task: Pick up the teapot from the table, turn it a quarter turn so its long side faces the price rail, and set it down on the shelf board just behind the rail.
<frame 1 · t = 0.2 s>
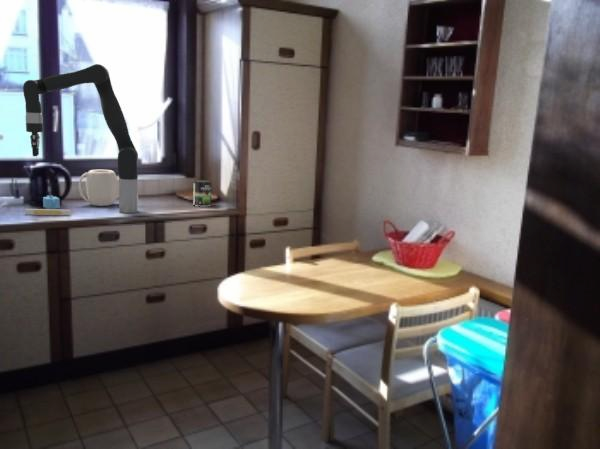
hand: (35, 155, 279), 28 cm above the table, tool pointing down, fingers open, 8 cm apart
shelf board: (50, 215, 274), on the table
teapot: (51, 210, 287), on the table
white mug: (104, 204, 310), on the table
price rail: (47, 214, 269), resting on shelf board
coffee can: (202, 205, 324), on the table
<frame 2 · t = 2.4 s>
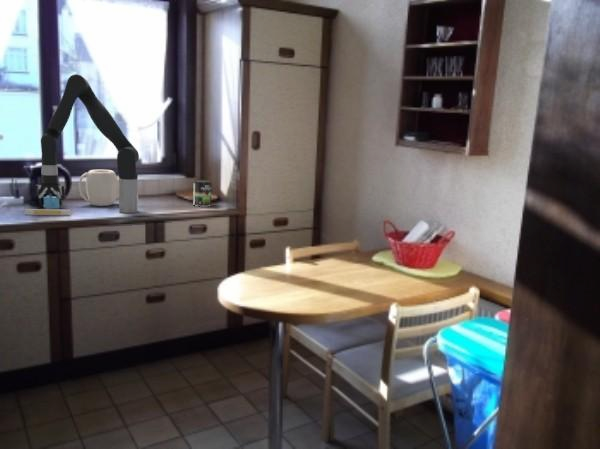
hand: (50, 205, 287), 2 cm above the table, tool pointing down, fingers open, 8 cm apart
teapot: (50, 210, 287), on the table, touching gripper
everything else where it was.
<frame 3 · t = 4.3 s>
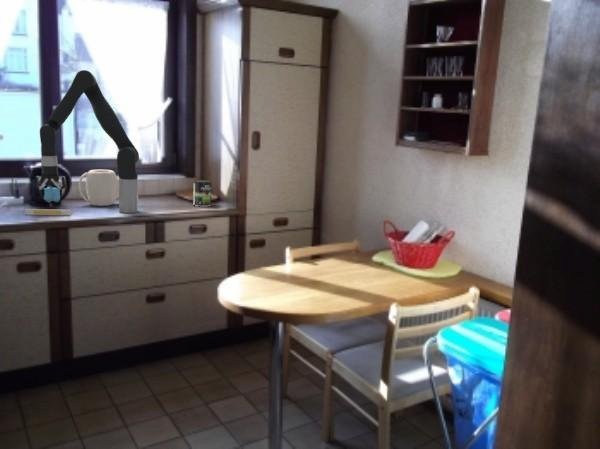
hand: (51, 196, 286), 7 cm above the table, tool pointing down, fingers closed on teapot, 8 cm apart
teapot: (51, 201, 286), point 4 cm above the table, touching gripper
everything else where it was.
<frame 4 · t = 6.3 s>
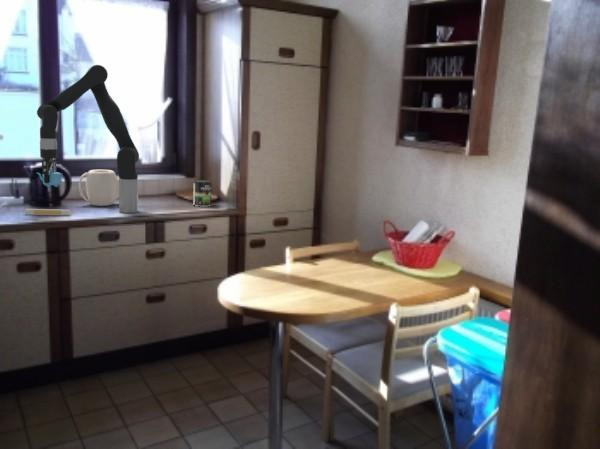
hand: (49, 181, 272), 16 cm above the table, tool pointing down, fingers closed on teapot, 8 cm apart
teapot: (49, 186, 273), point 14 cm above the table, touching gripper
everything else where it was.
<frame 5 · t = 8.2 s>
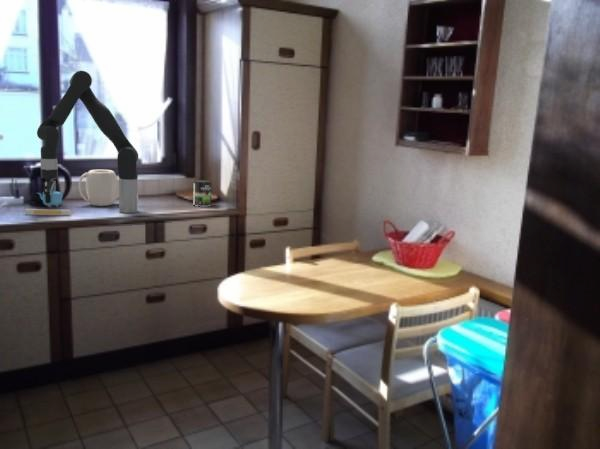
hand: (50, 201, 274), 7 cm above the table, tool pointing down, fingers closed on teapot, 8 cm apart
teapot: (50, 206, 274), point 4 cm above the table, touching gripper
everything else where it was.
when the fingers open (4 cm above the table, at t = 9.8 s): teapot drops 1 cm, resting on shelf board.
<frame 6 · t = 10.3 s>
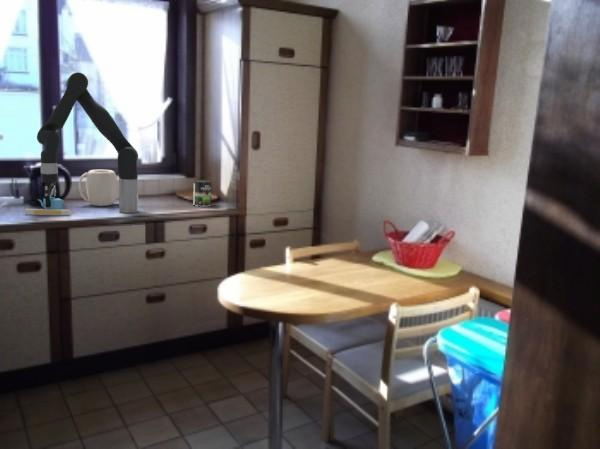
hand: (50, 205, 274), 5 cm above the table, tool pointing down, fingers open, 8 cm apart
teapot: (51, 212, 275), point 1 cm above the table, touching gripper, shelf board
everything else where it was.
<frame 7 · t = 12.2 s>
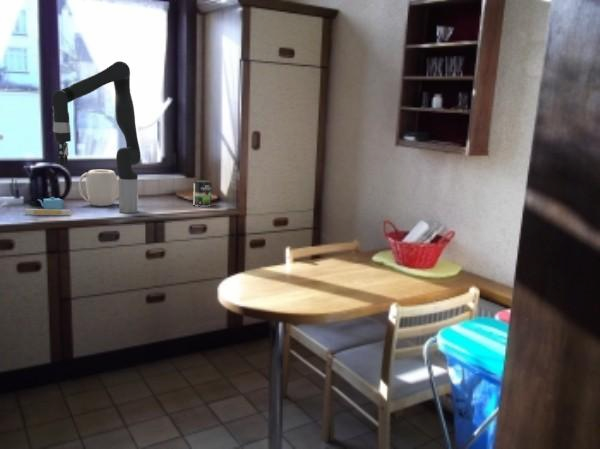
hand: (63, 164, 282), 24 cm above the table, tool pointing down, fingers open, 8 cm apart
teapot: (51, 212, 275), point 1 cm above the table, touching shelf board
everything else where it was.
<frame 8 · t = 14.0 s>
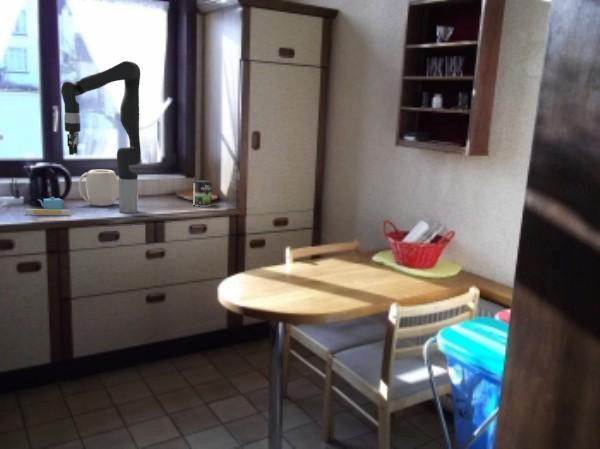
hand: (73, 154, 290), 28 cm above the table, tool pointing down, fingers open, 8 cm apart
nothing on the table moved.
at the end: teapot inside the target area (0.2 cm from its centre), point 1.0 cm above the table; teapot tilted 0°; the gripper is holding nothing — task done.
